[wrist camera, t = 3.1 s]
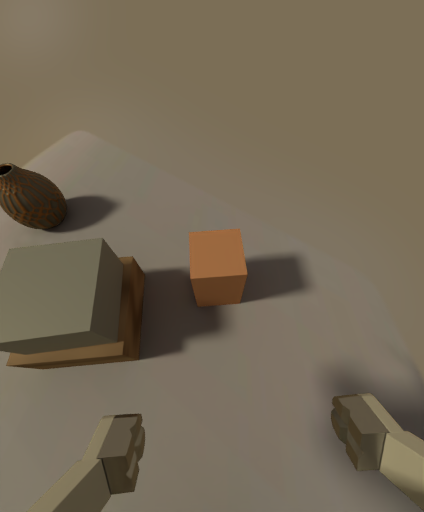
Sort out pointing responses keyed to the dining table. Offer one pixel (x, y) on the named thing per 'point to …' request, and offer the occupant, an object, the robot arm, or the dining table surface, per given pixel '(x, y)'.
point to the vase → (30, 198)
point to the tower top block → (59, 297)
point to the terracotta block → (217, 267)
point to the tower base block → (102, 353)
